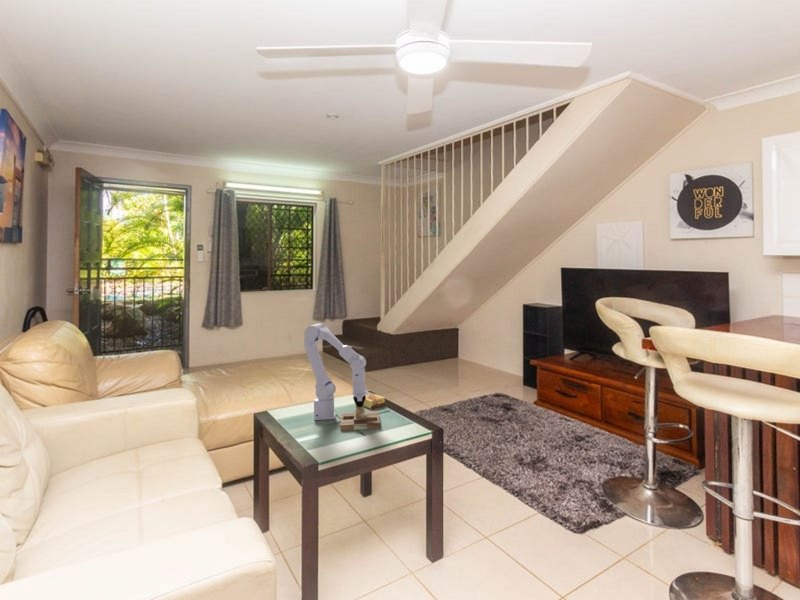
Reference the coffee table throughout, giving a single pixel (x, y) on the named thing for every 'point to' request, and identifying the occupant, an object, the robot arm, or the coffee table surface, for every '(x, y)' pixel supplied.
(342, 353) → the robot arm
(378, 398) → the candy box
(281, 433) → the coffee table surface
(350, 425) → the board
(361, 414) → the block
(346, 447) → the coffee table surface
